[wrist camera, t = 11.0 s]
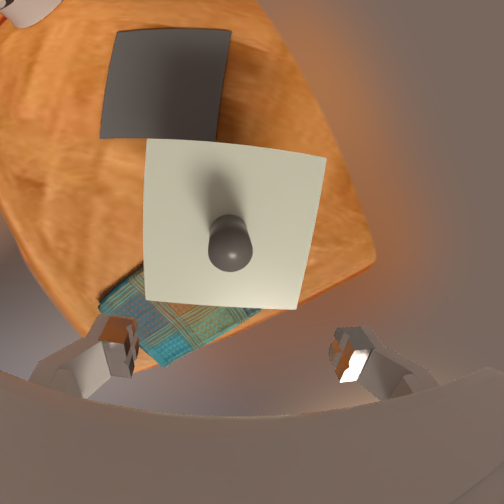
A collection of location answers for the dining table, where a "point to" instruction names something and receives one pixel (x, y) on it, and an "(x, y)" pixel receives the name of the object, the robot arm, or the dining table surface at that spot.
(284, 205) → the lid
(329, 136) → the dining table surface
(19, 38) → the dining table surface
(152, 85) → the mat
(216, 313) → the dish towel
